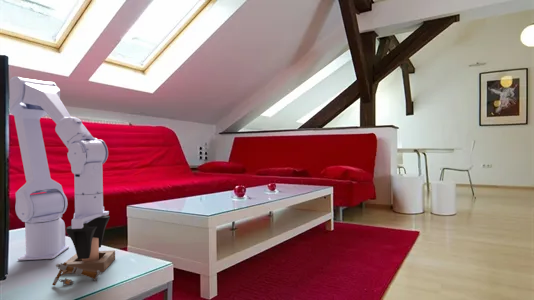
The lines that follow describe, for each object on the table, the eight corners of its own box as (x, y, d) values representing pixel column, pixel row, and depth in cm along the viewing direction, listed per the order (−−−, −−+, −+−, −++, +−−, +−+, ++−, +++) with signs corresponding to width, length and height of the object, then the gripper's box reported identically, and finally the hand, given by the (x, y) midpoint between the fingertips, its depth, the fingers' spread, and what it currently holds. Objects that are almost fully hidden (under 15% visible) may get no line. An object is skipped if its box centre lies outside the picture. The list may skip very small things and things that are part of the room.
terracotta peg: (85, 263, 80) (84, 237, 80) (101, 262, 81) (100, 237, 81) (79, 269, 77) (78, 242, 77) (96, 268, 77) (95, 241, 77)
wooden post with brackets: (47, 281, 68) (58, 259, 69) (90, 290, 71) (99, 269, 72) (47, 285, 66) (57, 262, 67) (90, 293, 70) (100, 272, 70)
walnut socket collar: (78, 260, 82) (77, 252, 82) (115, 258, 83) (115, 250, 83) (62, 273, 74) (62, 264, 74) (103, 271, 75) (103, 262, 75)
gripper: (96, 197, 72) (97, 262, 72) (116, 188, 86) (117, 242, 86) (60, 198, 71) (61, 264, 71) (86, 189, 85) (87, 243, 85)
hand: (90, 252), depth 79 cm, fingers open, 7 cm apart
